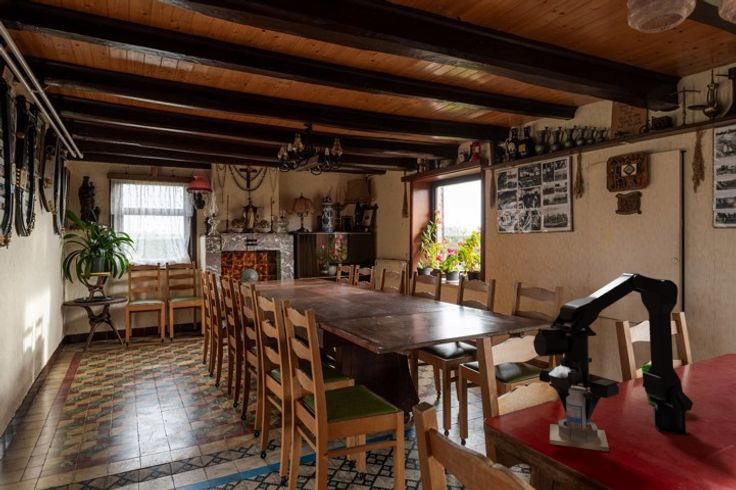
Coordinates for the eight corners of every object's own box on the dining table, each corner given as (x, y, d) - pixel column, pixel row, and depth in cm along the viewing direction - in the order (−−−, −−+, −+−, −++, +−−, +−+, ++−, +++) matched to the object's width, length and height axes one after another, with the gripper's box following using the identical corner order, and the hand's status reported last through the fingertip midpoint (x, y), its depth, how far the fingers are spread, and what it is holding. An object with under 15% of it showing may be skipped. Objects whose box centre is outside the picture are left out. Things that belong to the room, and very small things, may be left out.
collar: (604, 434, 121) (604, 420, 121) (608, 451, 111) (608, 436, 111) (550, 427, 126) (550, 414, 126) (549, 443, 115) (549, 429, 115)
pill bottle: (581, 422, 121) (581, 384, 121) (594, 430, 116) (594, 391, 116) (562, 423, 120) (561, 385, 120) (574, 431, 115) (573, 392, 115)
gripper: (524, 351, 122) (526, 411, 122) (592, 366, 106) (594, 435, 106) (551, 346, 128) (552, 403, 128) (619, 359, 112) (620, 424, 112)
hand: (577, 415), depth 118 cm, fingers closed on pill bottle, 5 cm apart
